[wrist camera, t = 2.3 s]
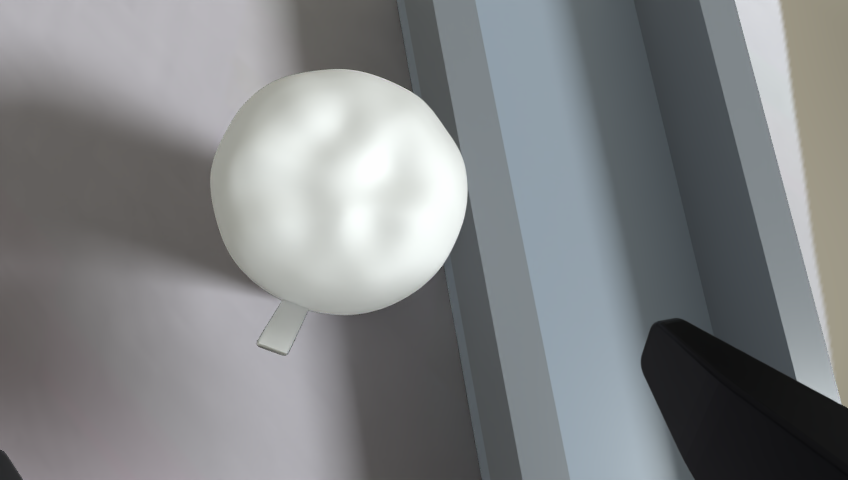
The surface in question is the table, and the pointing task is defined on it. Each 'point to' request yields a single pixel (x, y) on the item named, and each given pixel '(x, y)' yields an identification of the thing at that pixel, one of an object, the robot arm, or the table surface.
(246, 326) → the table surface
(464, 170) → the milkshake
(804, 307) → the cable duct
